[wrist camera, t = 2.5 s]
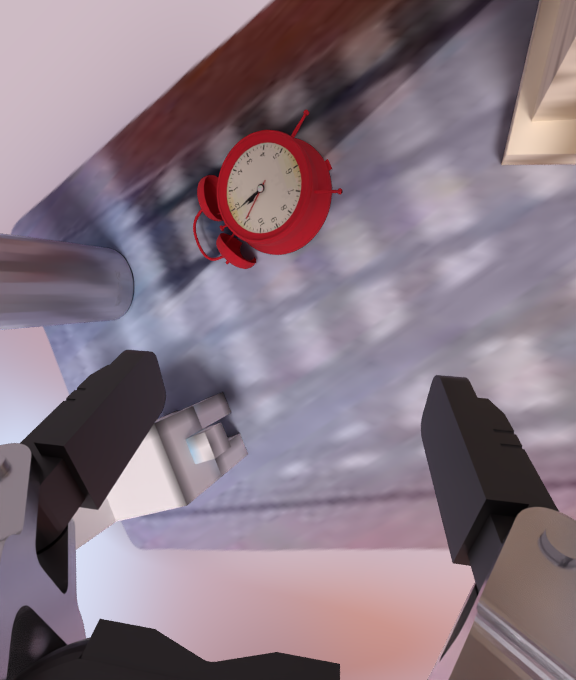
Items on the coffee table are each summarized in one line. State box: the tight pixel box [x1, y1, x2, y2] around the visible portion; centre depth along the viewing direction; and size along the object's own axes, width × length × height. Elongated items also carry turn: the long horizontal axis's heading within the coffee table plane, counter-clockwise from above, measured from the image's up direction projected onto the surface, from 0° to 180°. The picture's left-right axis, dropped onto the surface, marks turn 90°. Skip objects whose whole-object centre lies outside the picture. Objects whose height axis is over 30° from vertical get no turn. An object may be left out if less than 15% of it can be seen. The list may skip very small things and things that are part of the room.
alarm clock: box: [193, 110, 342, 269], centre depth 31 cm, size 10×6×15 cm
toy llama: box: [72, 392, 248, 549], centre depth 31 cm, size 8×18×20 cm, turn 116°
